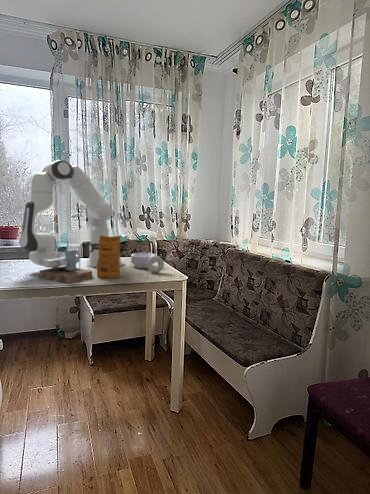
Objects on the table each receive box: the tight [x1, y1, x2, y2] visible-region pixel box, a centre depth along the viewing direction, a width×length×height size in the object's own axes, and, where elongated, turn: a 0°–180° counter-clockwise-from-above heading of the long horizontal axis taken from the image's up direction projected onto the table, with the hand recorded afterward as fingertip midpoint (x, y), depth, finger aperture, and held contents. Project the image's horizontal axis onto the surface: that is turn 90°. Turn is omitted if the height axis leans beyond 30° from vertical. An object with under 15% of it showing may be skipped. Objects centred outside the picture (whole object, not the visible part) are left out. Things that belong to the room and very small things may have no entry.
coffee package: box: [96, 235, 121, 279], centre depth 179 cm, size 10×12×22 cm
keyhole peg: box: [64, 248, 77, 272], centre depth 172 cm, size 5×5×14 cm
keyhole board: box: [38, 265, 93, 284], centre depth 175 cm, size 21×16×4 cm
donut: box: [146, 255, 165, 274], centre depth 193 cm, size 10×4×10 cm, turn 96°
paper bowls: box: [130, 252, 157, 269], centre depth 208 cm, size 15×15×8 cm
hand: (72, 262), depth 172 cm, fingers closed on keyhole peg, 4 cm apart
